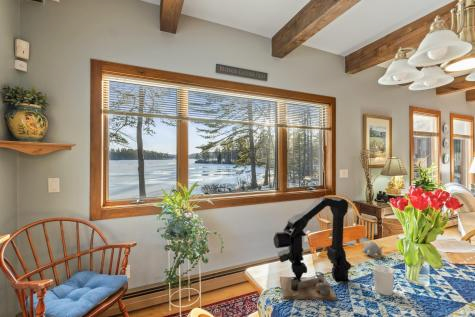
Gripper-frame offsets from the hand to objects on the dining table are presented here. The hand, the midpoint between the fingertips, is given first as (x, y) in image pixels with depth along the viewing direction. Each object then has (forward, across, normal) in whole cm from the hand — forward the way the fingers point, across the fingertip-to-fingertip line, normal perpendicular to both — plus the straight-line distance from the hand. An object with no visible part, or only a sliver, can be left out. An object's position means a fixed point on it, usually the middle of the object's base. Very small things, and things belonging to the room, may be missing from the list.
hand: (296, 277), depth 108 cm
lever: (+2, +3, +4) cm, 6 cm away
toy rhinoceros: (+5, -36, +53) cm, 64 cm away
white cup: (+4, +3, +38) cm, 38 cm away
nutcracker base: (+3, +3, +4) cm, 6 cm away
